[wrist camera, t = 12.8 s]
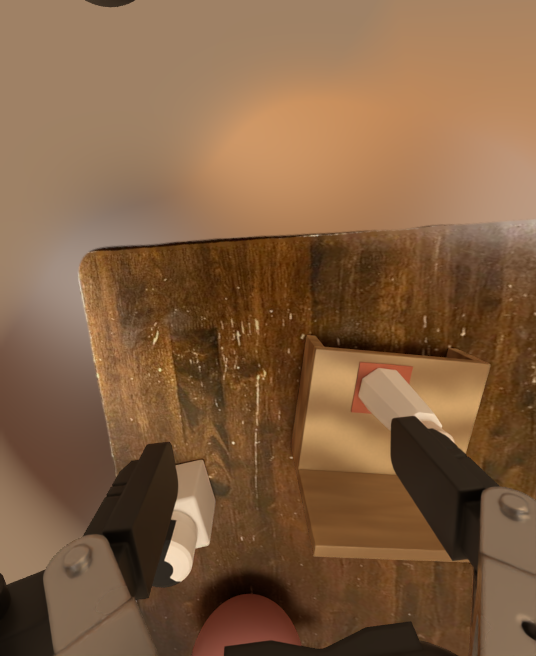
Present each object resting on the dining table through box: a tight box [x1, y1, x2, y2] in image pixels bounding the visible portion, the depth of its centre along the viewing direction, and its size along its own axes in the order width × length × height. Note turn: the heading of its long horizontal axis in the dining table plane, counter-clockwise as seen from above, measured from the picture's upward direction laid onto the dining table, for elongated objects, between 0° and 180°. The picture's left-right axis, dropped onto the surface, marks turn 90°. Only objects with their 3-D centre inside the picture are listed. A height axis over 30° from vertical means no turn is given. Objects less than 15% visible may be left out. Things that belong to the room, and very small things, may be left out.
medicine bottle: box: [152, 460, 215, 587], centre depth 38 cm, size 7×7×12 cm
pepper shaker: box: [358, 368, 455, 443], centre depth 29 cm, size 5×5×11 cm
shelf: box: [291, 335, 490, 562], centre depth 34 cm, size 16×20×16 cm
